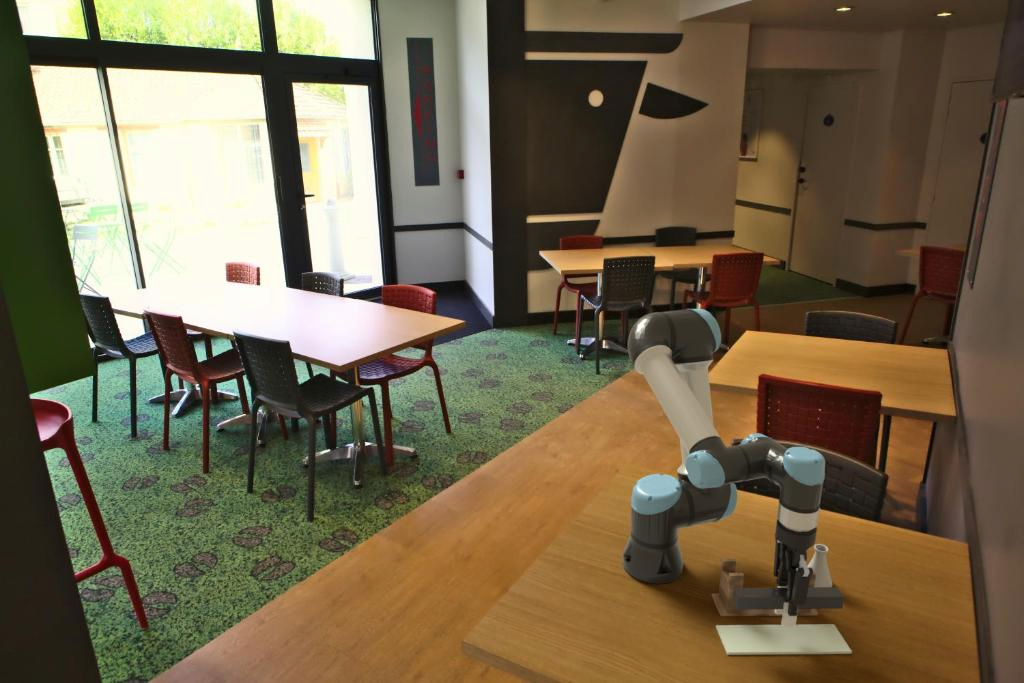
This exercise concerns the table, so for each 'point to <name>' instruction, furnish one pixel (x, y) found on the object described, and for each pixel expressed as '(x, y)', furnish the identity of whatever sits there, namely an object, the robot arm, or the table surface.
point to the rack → (735, 580)
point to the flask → (820, 566)
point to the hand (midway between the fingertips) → (784, 618)
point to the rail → (774, 597)
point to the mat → (782, 639)
